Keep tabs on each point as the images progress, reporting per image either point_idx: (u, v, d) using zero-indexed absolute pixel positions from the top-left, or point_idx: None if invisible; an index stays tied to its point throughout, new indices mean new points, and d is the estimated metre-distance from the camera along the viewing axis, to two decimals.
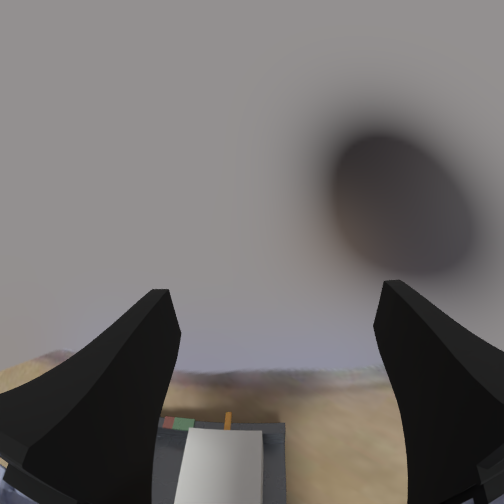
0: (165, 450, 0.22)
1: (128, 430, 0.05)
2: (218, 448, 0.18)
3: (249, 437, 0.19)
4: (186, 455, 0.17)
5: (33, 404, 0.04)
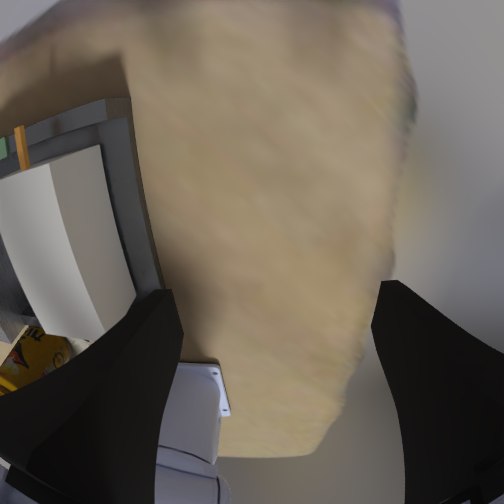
0: None
1: (131, 431, 0.05)
2: (17, 209, 0.11)
3: (38, 180, 0.11)
4: (0, 229, 0.12)
5: (36, 405, 0.04)
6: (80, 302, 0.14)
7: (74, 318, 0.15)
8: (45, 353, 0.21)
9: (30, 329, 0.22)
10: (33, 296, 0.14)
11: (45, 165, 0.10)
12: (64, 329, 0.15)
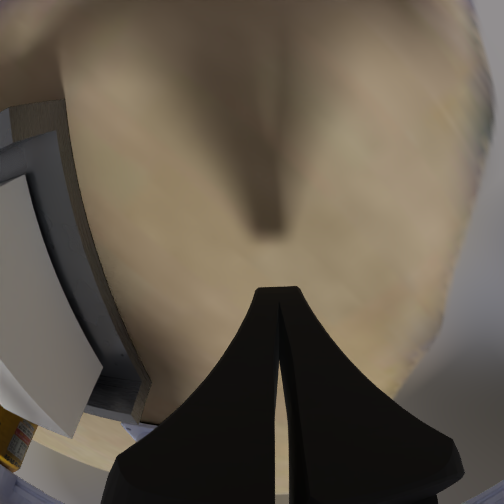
0: None
1: None
2: None
3: None
4: None
5: (211, 445, 0.03)
6: (24, 398, 0.08)
7: (24, 408, 0.09)
8: None
9: None
10: None
11: None
12: (19, 412, 0.09)
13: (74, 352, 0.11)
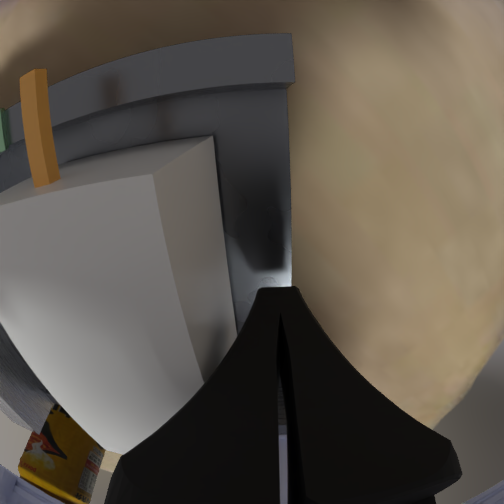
0: (13, 184, 0.09)
1: None
2: (35, 289, 0.05)
3: (104, 227, 0.04)
4: None
5: (215, 446, 0.03)
6: None
7: None
8: (85, 433, 0.15)
9: None
10: (86, 418, 0.08)
11: (134, 180, 0.04)
12: None
13: None
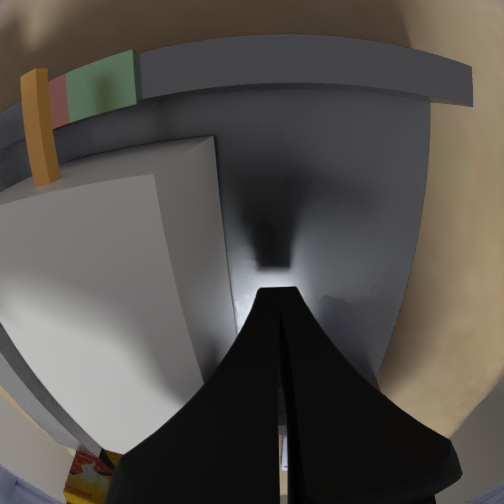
0: None
1: None
2: (36, 288, 0.05)
3: (105, 226, 0.04)
4: None
5: (216, 446, 0.03)
6: None
7: None
8: None
9: None
10: (85, 418, 0.08)
11: (136, 180, 0.04)
12: None
13: None
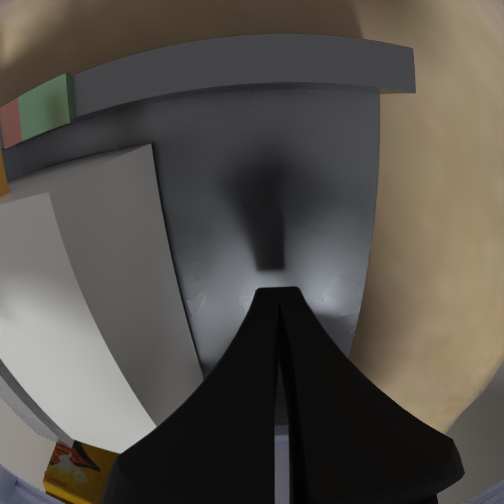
0: None
1: None
2: None
3: (25, 235, 0.04)
4: None
5: (211, 445, 0.03)
6: (140, 433, 0.08)
7: (125, 442, 0.08)
8: None
9: None
10: (48, 405, 0.08)
11: (39, 197, 0.04)
12: (104, 444, 0.09)
13: (187, 365, 0.11)
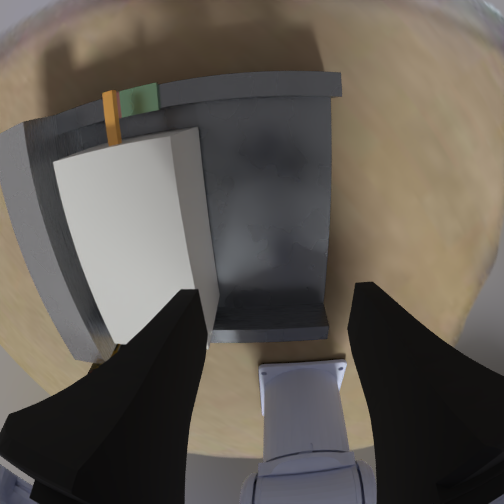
0: None
1: (166, 437, 0.05)
2: (105, 193, 0.11)
3: (148, 157, 0.10)
4: (69, 218, 0.12)
5: (70, 418, 0.03)
6: None
7: None
8: None
9: None
10: (108, 301, 0.14)
11: (163, 138, 0.10)
12: None
13: (211, 273, 0.17)
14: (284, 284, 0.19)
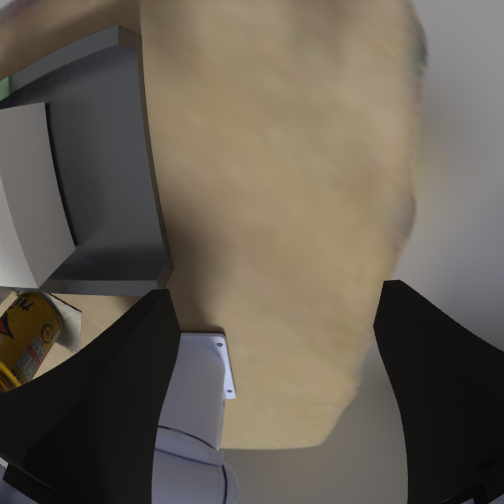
0: None
1: (128, 430, 0.05)
2: None
3: None
4: None
5: (33, 404, 0.04)
6: (12, 243, 0.12)
7: (9, 263, 0.13)
8: (33, 323, 0.19)
9: (19, 299, 0.20)
10: None
11: None
12: (4, 277, 0.14)
13: (55, 224, 0.16)
14: (124, 237, 0.18)
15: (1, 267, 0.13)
